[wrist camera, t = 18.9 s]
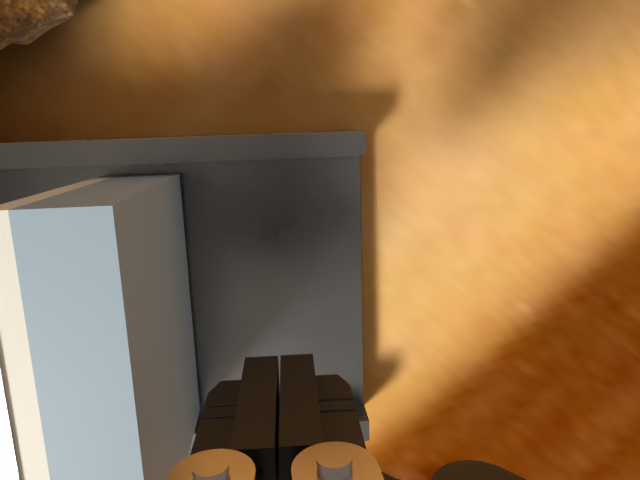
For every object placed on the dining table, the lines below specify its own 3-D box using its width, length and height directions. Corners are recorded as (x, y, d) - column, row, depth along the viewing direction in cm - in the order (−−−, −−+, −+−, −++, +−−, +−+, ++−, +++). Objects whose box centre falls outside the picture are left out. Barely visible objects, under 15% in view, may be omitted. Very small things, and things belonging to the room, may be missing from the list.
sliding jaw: (179, 173, 18) (112, 205, 11) (200, 410, 20) (155, 578, 12) (100, 176, 18) (-25, 211, 10) (128, 415, 20) (40, 589, 12)
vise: (355, 130, 19) (420, 133, 11) (360, 409, 22) (417, 599, 13) (-169, 148, 18) (-585, 167, 9) (-104, 442, 21) (-386, 678, 12)
